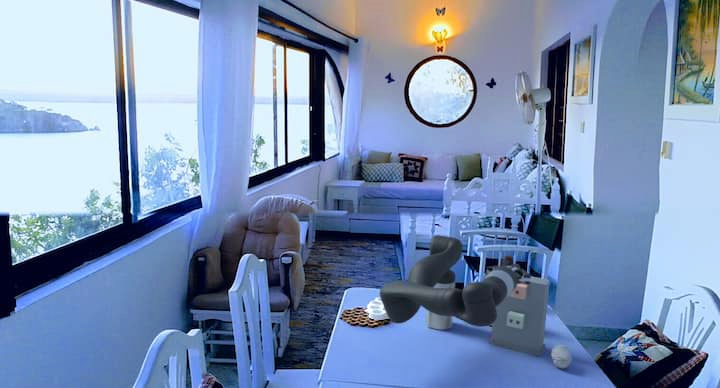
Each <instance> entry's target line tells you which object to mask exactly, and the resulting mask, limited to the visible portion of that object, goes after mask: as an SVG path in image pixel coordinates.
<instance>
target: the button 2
mask: <svg viewBox="0 0 720 388" xmlns="http://www.w3.org/2000/svg"><path fill="white" fill-rule="evenodd" d="M524 322H525V314H521V313H517V312H512V311H509V313H508V314H507V326H511V327H515V328H519V329H522V328H523V327H524Z"/></svg>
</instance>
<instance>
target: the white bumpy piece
mask: <svg viewBox="0 0 720 388" xmlns="http://www.w3.org/2000/svg"><path fill="white" fill-rule="evenodd" d="M366 306H367V308H366V309H365V310H363V311H364V312H365V313H367V314H368V313H369V315H368V319H369V318H371V319H374V320H382V319H385V318H389V317H388V315H387V313H386V311H385V308H384V306H383V303H382V301H381V298H380V296H379V297H375V300H371V301H370V302H369V304H367V305H366Z"/></svg>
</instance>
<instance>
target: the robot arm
mask: <svg viewBox="0 0 720 388" xmlns="http://www.w3.org/2000/svg"><path fill="white" fill-rule="evenodd" d="M463 251H464V250H463V242H462V241H461V240H460V239H459V238H456V237H453V236H452V237H451V236H446V235H445V236H444V235H439V234H437V235H434V236H433V237H432V238H431V239H430V244H429V255H427V256H424V257H422V258H420V259H419V260H418V261H417V262H416V263H415V264H414V265H413V266H412V268H410V271H409V273H408V277H407V280H394V281H391V282H390V281H389V282H388V283H386V284H385V285H383V286H382V287H381V288H380V291H379V297H380V298H381V301H382V303H383V306H384V308H385V311H386V313H387V315H388V317H389V319H390V321H391V322H392V323H394V324H398V325H399V324H403V323H406V322H408V321H410V319H413V317H414V316H415V315H416V314H417V313H418V311H419V309H420V308H421V307H422V308H423V309H424V310H426V315H425V316H426V317H425V322H426V325H427V328H430V329H434V330H439V331H440V330H449V329H451V328H452V327H453V322H454V321H453V320H454V318H455V319H458V320H460V321H462V322H464V323H466V324H469V325H471V326H474V327H481V328H483V327H488V326H491V325H492V324H493V323H494V322H495V320H496V318H497V311H496V306H498V305H499V304H500V303H501V302H502V301H503V300H504V299H505V298H507V297H508V296H509V295H510V294H511V293H512V291H513V290H514V289H515V288H516V286H517V284H520V283H521V282H522V281H523V282H525V283H526V284H530V279H531V276H532V275H531V274H530V273H528V271H526V270H525V269H523V268H521V266H520V264H519V263H513V265H510V266H507V267H506V266H504V265H503V264H502V265H501V264H500V265H493V266H486V271H485V272H486V273H485V275H486V276H485V277H484V278H483V279H482V281H473V282H470V283H467V284H466V285H465V286H463V289H460V288H456V276H457V275H456V273H455V271H453V270H451V269H452V268H453V267H454V266H455V265H456V264H457V263H458V262H459V260H460V259H461V257H462V254H463Z"/></svg>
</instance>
